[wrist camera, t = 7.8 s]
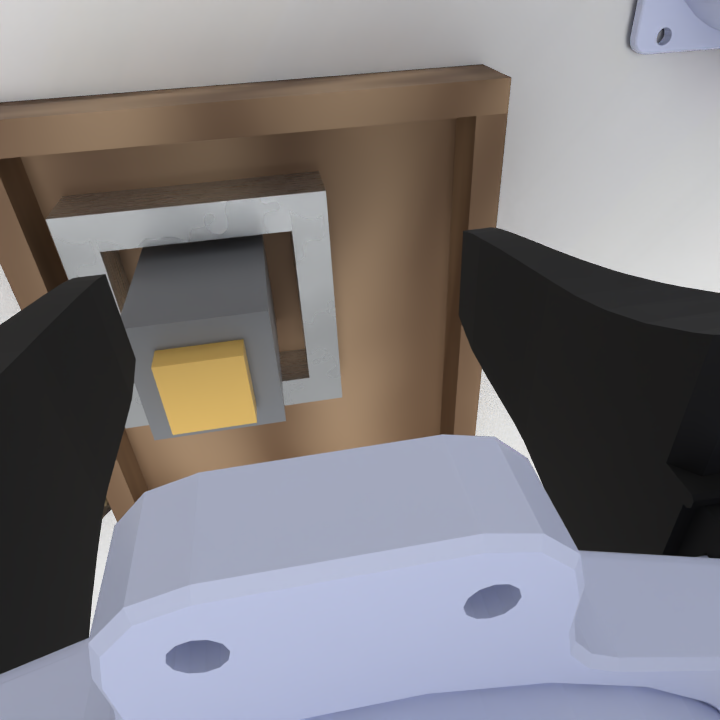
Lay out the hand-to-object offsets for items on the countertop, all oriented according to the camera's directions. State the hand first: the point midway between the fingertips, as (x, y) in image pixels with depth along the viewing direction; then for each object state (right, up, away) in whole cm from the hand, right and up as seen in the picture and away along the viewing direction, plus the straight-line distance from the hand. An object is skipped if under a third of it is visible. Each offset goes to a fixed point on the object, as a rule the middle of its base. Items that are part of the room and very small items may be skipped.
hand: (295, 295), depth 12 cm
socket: (-4, +1, +10) cm, 11 cm away
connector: (-4, +2, +10) cm, 10 cm away
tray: (-2, 0, +12) cm, 12 cm away
